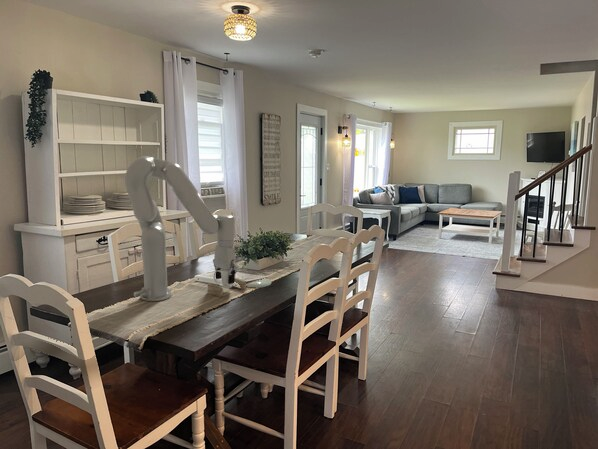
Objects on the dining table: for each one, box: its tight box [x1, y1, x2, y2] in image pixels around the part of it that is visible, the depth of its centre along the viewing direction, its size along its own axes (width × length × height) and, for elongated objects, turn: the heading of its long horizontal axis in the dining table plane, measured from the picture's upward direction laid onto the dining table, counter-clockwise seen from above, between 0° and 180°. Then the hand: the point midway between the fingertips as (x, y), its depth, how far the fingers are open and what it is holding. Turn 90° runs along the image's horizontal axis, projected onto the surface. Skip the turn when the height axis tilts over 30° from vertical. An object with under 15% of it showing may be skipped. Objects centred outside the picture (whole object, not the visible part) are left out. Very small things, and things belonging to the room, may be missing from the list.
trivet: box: [246, 277, 272, 289], centre depth 216 cm, size 14×14×1 cm
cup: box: [213, 268, 233, 289], centre depth 203 cm, size 7×10×8 cm
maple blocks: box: [207, 277, 247, 298], centre depth 204 cm, size 15×9×4 cm, turn 138°
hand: (225, 280), depth 203 cm, fingers closed on cup, 8 cm apart
